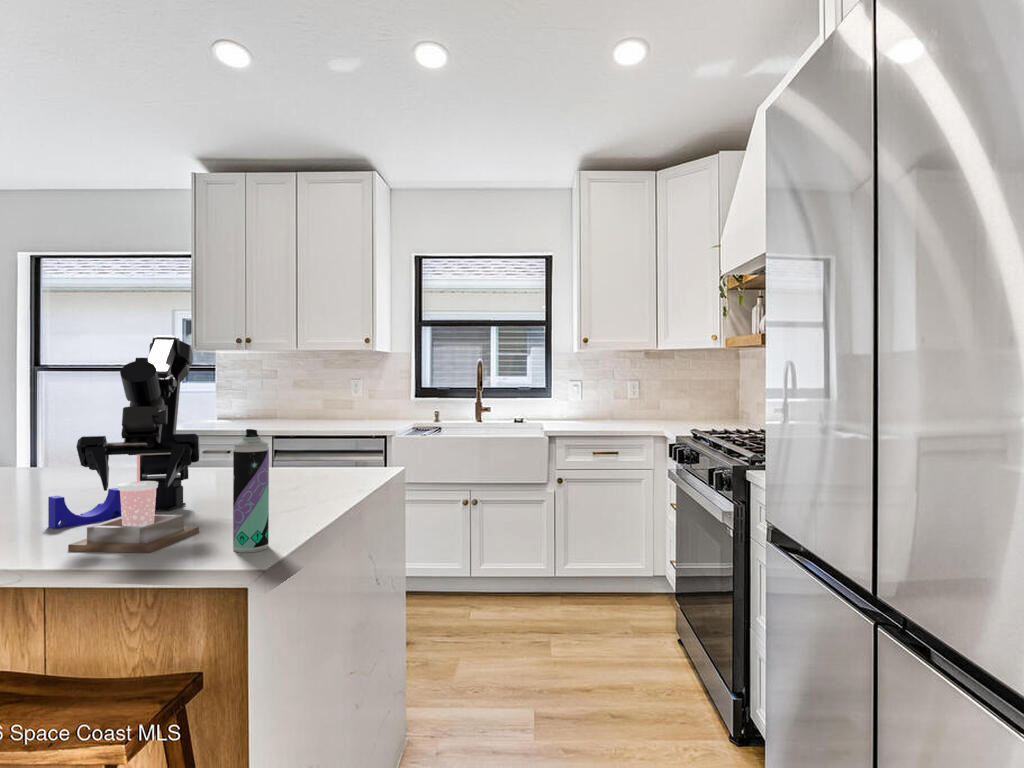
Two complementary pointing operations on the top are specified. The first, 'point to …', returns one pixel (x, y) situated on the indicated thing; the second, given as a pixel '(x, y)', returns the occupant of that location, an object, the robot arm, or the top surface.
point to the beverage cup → (138, 501)
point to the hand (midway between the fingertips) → (136, 487)
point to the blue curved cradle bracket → (97, 514)
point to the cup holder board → (134, 535)
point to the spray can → (250, 493)
